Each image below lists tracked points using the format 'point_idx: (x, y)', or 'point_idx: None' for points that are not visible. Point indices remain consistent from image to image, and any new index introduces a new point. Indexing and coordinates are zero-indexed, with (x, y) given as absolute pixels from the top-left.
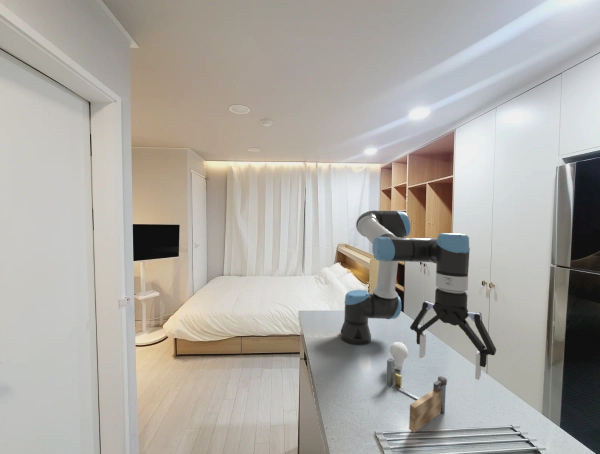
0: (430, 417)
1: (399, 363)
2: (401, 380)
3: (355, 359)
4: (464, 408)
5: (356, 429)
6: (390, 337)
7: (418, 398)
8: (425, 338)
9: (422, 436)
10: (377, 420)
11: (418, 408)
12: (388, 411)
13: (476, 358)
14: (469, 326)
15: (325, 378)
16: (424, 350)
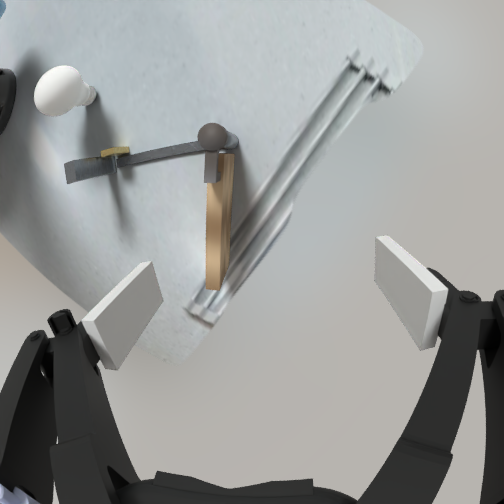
0: (230, 203)
1: (83, 100)
2: (119, 147)
3: (31, 166)
4: (261, 80)
5: (166, 326)
6: (35, 21)
7: (175, 150)
8: (112, 309)
9: (240, 249)
10: (168, 284)
11: (221, 273)
12: (162, 246)
13: (410, 331)
14: (448, 450)
15: (55, 272)
16: (144, 284)
